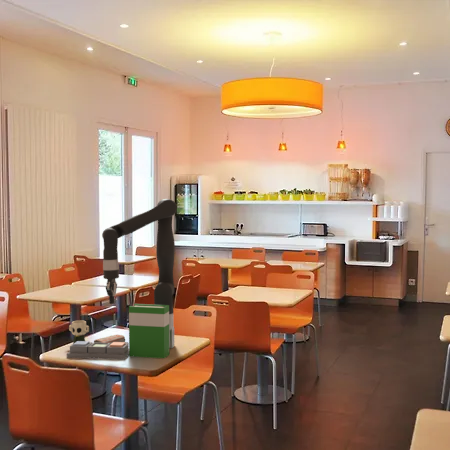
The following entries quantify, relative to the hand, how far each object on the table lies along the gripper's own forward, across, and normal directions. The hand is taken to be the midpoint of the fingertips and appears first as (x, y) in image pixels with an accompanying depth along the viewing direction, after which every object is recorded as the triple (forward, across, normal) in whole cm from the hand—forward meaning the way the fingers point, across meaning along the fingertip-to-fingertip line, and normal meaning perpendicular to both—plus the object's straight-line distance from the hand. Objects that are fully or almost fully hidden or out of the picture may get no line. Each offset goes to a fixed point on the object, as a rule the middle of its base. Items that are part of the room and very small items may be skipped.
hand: (112, 303), depth 290 cm
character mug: (+23, +6, +20) cm, 31 cm away
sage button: (+21, -8, +5) cm, 23 cm away
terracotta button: (+20, -8, -4) cm, 22 cm away
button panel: (+24, -8, +5) cm, 25 cm away
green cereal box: (+24, -6, -19) cm, 32 cm away
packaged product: (+24, +10, +5) cm, 27 cm away
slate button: (+19, -8, +14) cm, 25 cm away
